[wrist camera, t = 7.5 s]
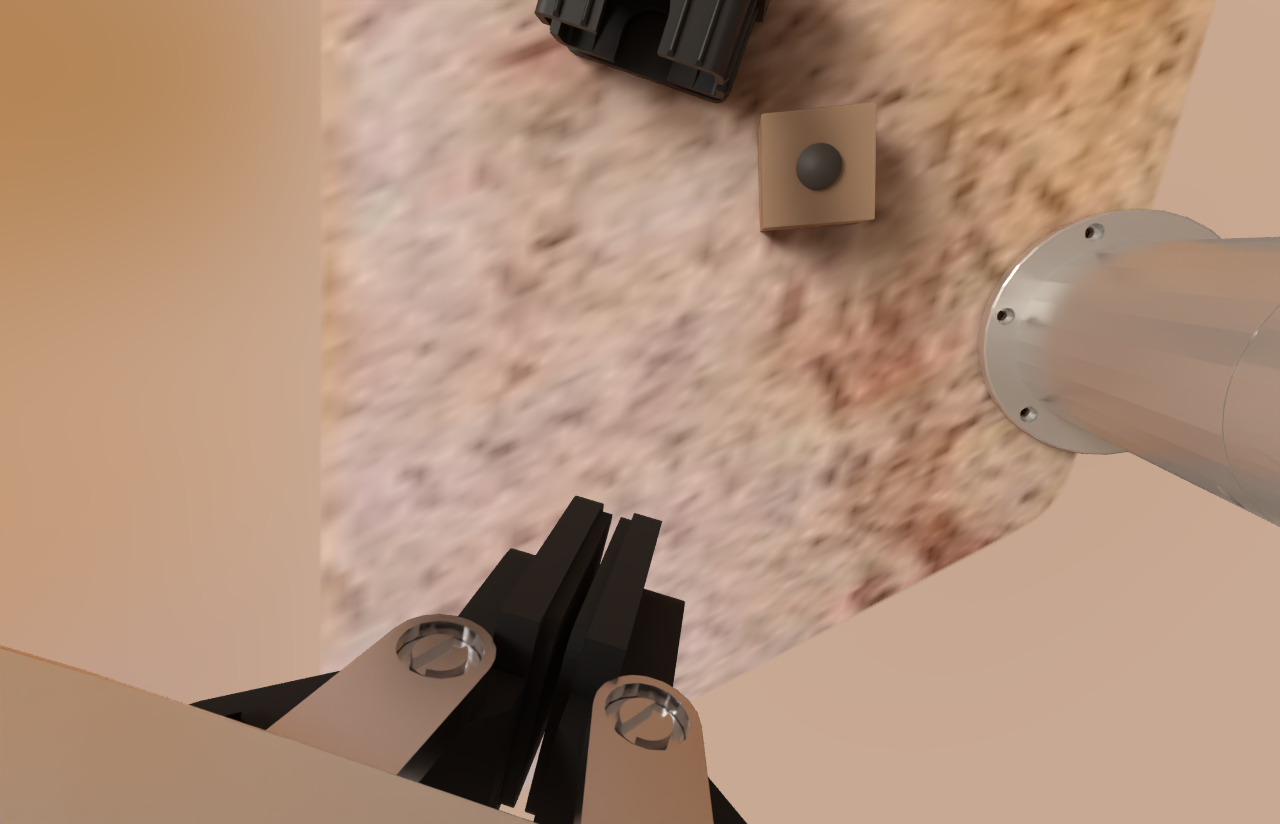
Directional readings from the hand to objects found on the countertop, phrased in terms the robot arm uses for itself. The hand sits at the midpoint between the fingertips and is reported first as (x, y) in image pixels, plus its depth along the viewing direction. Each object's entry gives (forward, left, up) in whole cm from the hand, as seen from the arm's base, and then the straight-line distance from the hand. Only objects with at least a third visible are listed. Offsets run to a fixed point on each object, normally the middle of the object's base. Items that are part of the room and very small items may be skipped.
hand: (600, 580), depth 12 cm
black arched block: (+5, -18, -27) cm, 32 cm away
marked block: (-4, -11, -26) cm, 29 cm away
